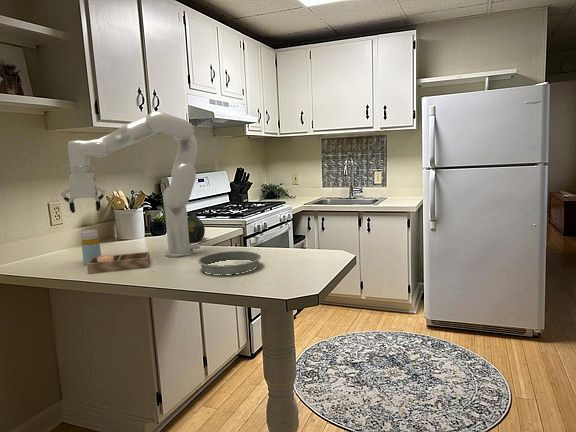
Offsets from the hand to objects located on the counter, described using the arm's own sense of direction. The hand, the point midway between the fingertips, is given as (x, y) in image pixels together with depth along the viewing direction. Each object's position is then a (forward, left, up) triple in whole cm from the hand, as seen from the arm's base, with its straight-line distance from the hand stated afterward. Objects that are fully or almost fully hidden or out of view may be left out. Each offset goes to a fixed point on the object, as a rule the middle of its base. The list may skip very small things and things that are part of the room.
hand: (85, 211), depth 186 cm
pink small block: (-8, +13, -22) cm, 27 cm away
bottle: (0, 0, -24) cm, 24 cm away
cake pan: (-55, +29, -24) cm, 67 cm away
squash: (-43, -35, -24) cm, 60 cm away
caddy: (-13, +13, -23) cm, 30 cm away
